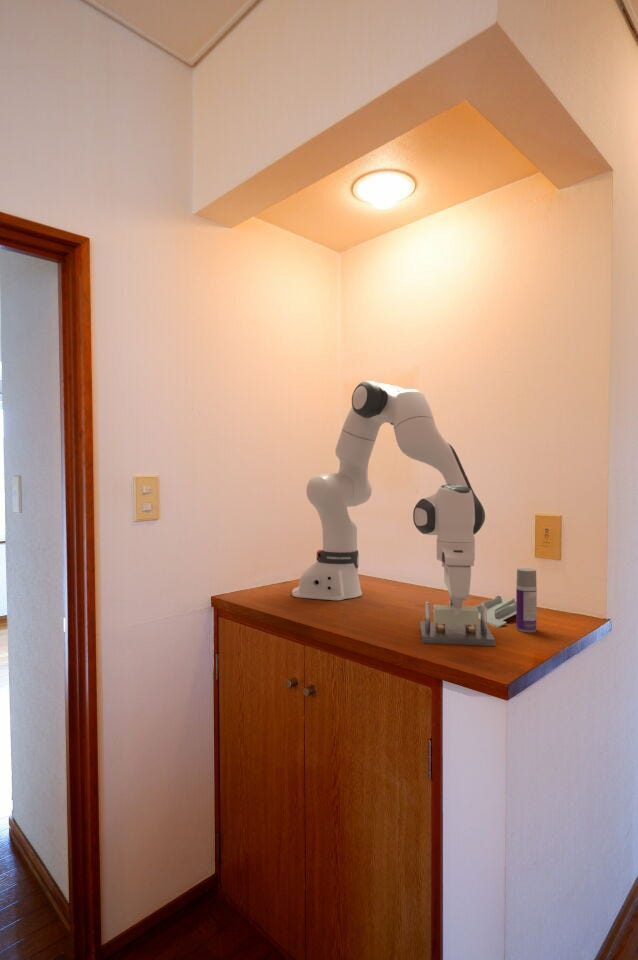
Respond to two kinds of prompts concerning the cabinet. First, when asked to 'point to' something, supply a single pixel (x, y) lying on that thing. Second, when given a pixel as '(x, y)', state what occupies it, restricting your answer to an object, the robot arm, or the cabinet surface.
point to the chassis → (456, 631)
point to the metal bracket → (498, 610)
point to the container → (526, 600)
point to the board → (446, 616)
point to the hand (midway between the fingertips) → (455, 610)
